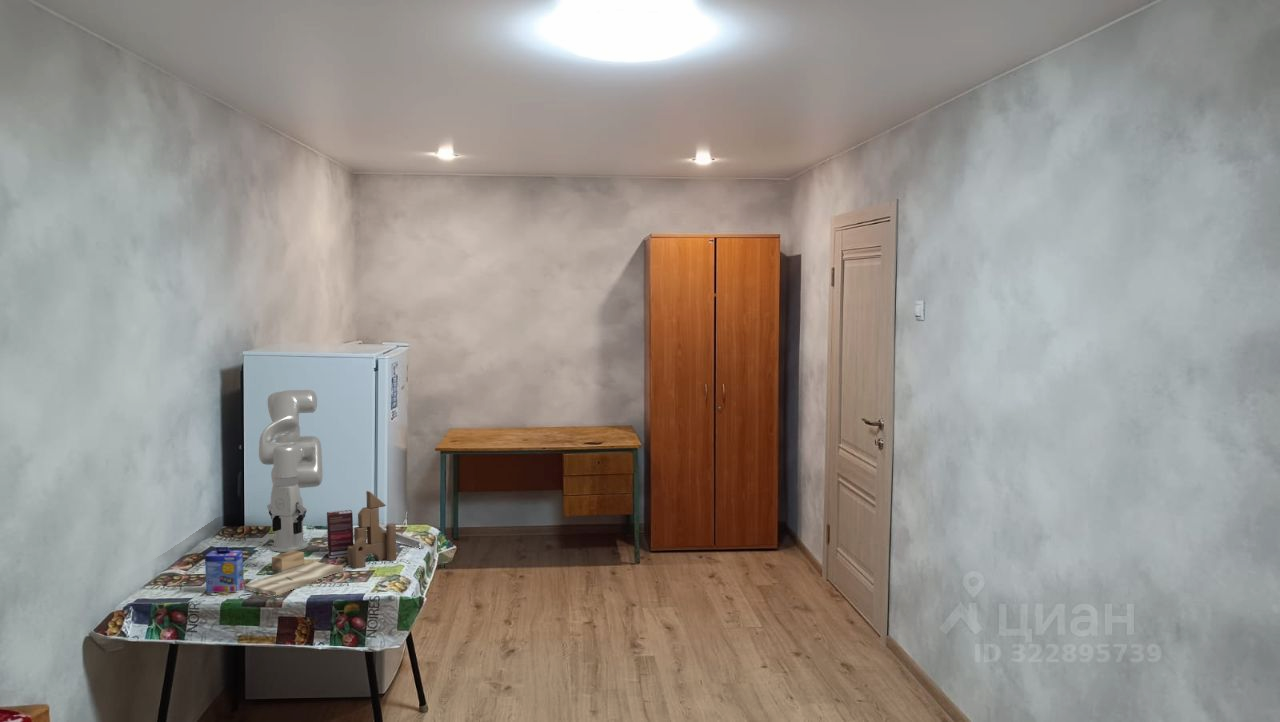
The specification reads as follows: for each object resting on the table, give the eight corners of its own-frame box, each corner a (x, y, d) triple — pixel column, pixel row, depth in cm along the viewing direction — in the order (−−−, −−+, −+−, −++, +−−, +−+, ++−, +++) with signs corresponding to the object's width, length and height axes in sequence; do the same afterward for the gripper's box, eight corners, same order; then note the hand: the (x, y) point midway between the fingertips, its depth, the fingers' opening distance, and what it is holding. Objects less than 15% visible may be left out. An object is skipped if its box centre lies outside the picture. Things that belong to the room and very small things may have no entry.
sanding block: (272, 571, 293) (271, 556, 293) (294, 564, 301) (293, 550, 301) (282, 573, 291) (281, 559, 291) (304, 566, 299) (303, 552, 298)
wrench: (420, 557, 319) (362, 536, 334) (424, 556, 321) (366, 535, 335) (422, 536, 318) (364, 516, 333) (425, 535, 320) (368, 515, 334)
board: (244, 589, 274) (244, 585, 274) (312, 565, 299) (312, 561, 299) (276, 596, 268) (275, 591, 268) (343, 571, 293) (343, 566, 293)
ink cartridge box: (205, 593, 270) (203, 548, 269) (212, 587, 276) (210, 543, 275) (237, 593, 271) (236, 547, 270) (244, 587, 277) (243, 542, 276)
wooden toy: (355, 569, 295) (354, 496, 294) (347, 564, 300) (346, 493, 299) (397, 560, 306) (396, 490, 304) (389, 556, 311) (388, 487, 309)
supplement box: (352, 552, 315) (351, 509, 314) (353, 556, 310) (353, 512, 309) (327, 555, 311) (326, 511, 310) (328, 558, 307) (327, 514, 306)
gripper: (258, 481, 294) (260, 531, 295) (295, 485, 287) (297, 537, 287) (276, 478, 301) (277, 526, 302) (313, 481, 293) (314, 532, 294)
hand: (287, 531), depth 295 cm, fingers open, 9 cm apart
